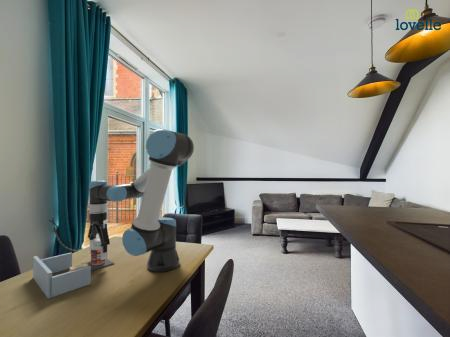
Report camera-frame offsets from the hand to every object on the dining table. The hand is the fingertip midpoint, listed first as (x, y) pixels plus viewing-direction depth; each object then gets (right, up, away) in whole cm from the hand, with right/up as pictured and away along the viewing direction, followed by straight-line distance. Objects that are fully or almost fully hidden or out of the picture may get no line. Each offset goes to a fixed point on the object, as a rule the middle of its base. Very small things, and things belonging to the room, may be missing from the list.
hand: (98, 255), depth 112 cm
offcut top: (-2, -2, -11) cm, 12 cm away
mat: (0, -4, 0) cm, 4 cm away
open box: (-6, -4, -16) cm, 18 cm away
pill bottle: (0, -4, 0) cm, 4 cm away
